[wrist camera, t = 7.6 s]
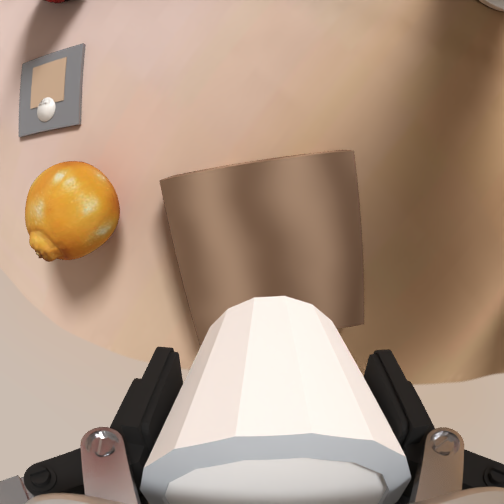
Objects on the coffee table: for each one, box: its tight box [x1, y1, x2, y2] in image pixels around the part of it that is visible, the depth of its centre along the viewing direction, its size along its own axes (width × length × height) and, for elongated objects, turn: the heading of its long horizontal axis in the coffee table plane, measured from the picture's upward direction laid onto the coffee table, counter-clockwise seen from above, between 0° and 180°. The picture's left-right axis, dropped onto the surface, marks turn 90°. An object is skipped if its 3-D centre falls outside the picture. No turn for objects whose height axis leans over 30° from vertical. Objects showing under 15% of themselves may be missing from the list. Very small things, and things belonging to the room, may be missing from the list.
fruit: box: [25, 161, 120, 262], centre depth 23 cm, size 8×8×8 cm
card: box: [19, 43, 85, 137], centre depth 23 cm, size 8×8×1 cm
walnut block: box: [160, 150, 364, 345], centre depth 26 cm, size 14×14×4 cm
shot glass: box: [140, 296, 411, 504], centre depth 9 cm, size 7×7×7 cm
